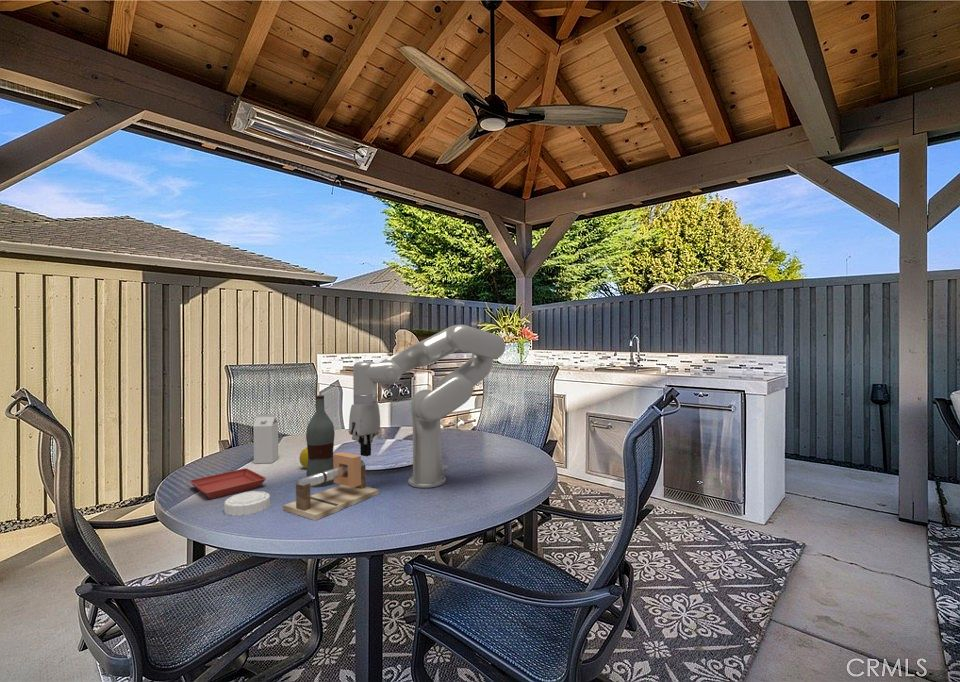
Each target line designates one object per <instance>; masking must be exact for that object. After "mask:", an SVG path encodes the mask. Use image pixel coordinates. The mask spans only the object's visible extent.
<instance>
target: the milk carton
mask: <svg viewBox="0 0 960 682" xmlns="http://www.w3.org/2000/svg"><path fill="white" fill-rule="evenodd" d="M277 419H278V418H276V414H275V413H272V414H270V413H269V414H268V413H266V414H256V418H255V420H254V424H253V463H254V464H255V465H256V464H273V463H274V462H276V461H277V460H278V459H279V422H278V420H277Z"/></svg>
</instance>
